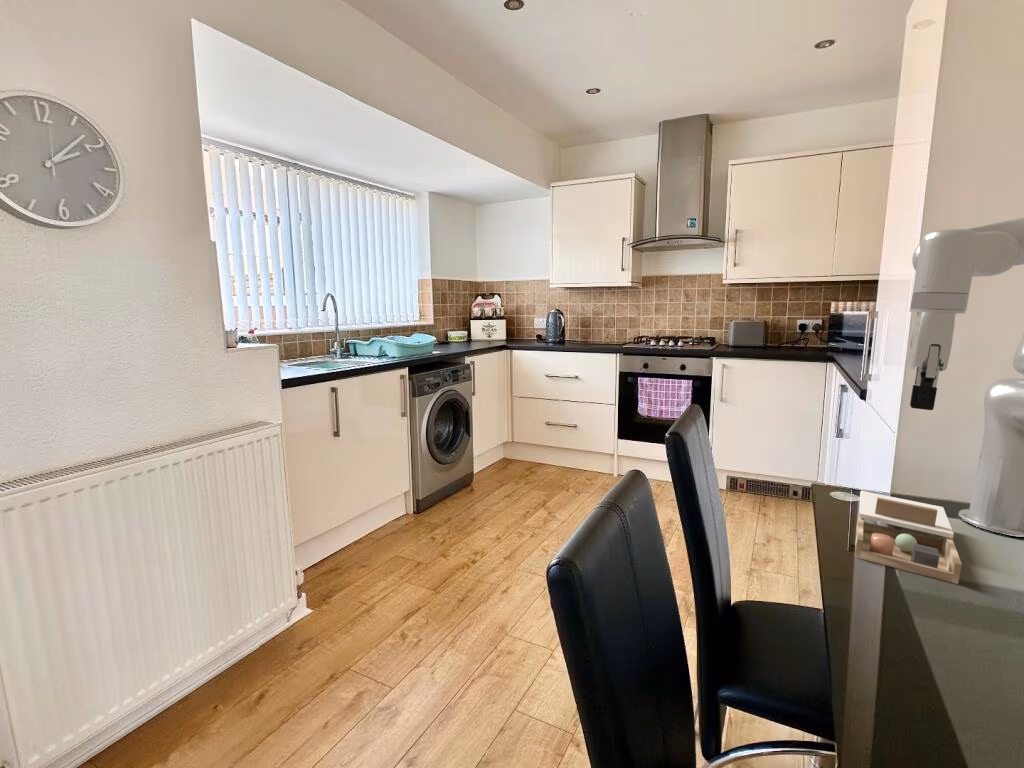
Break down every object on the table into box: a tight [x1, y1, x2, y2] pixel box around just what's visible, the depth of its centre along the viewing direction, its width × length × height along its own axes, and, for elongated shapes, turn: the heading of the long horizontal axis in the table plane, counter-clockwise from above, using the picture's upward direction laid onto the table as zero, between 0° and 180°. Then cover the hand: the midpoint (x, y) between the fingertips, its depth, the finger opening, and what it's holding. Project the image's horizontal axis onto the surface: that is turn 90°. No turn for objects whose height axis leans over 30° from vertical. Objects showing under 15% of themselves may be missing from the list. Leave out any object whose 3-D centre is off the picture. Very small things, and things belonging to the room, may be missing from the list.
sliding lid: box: [858, 490, 955, 539], centre depth 101 cm, size 16×14×4 cm
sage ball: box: [895, 534, 917, 552], centre depth 93 cm, size 3×3×3 cm
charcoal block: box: [911, 544, 939, 568], centre depth 87 cm, size 3×3×3 cm
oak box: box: [854, 513, 963, 585], centre depth 92 cm, size 16×14×4 cm
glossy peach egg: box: [869, 533, 895, 557], centre depth 91 cm, size 3×3×3 cm
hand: (921, 408), depth 91 cm, fingers closed
